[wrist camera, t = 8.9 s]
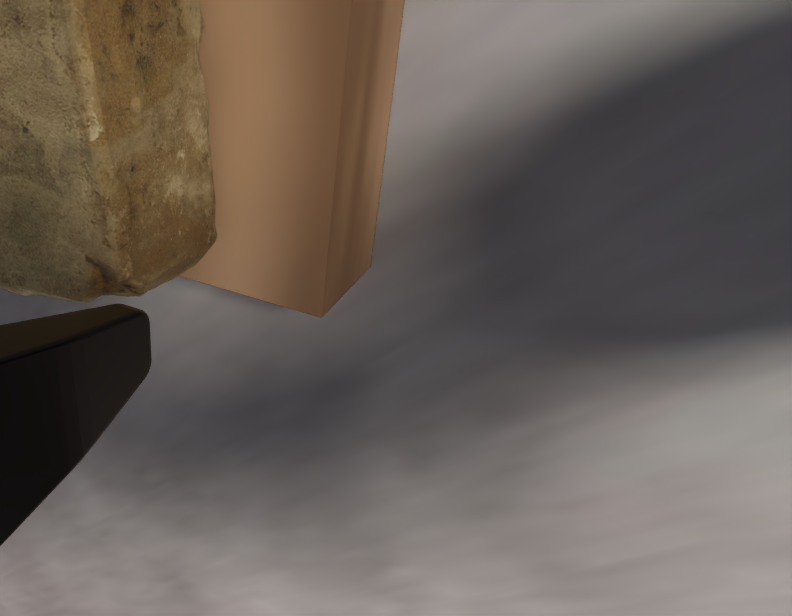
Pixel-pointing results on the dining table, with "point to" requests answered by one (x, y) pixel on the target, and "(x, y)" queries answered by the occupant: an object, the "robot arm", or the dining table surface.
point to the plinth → (296, 143)
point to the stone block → (102, 146)
